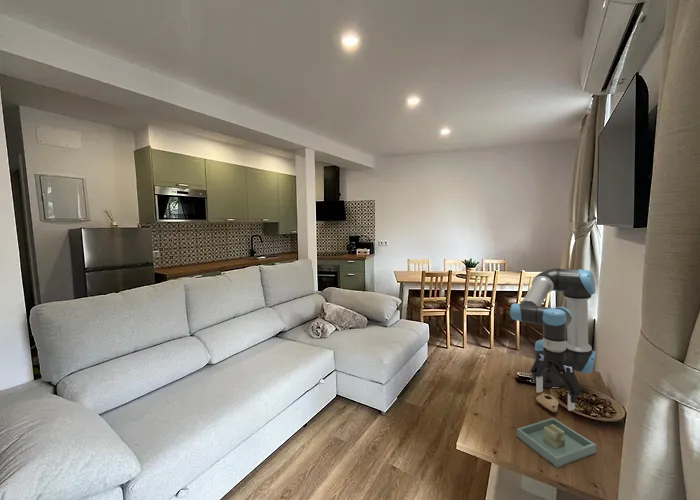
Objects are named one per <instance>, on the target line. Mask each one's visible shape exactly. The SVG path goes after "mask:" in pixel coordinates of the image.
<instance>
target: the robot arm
mask: <svg viewBox="0 0 700 500" xmlns="http://www.w3.org/2000/svg"><path fill="white" fill-rule="evenodd" d="M552 291H553V292H555V291H556V292H562V297H564V298H565V299H566V307H564V306H556V307H547V306H542V304H543V303H544V301H545V299H546V297H547V295H548V294H549V293H551V292H552ZM595 294H596V282H595V276H594V274H593V272H592V271H591V270H588V269H581V268H576V269H575V268H558V267H557V268H555V267H554V268H549V269H546V270H543V271H541V272H540V273H538V274H537V275H535V277H534V278H533V279H532V281H531V286H530V288H529V289H528V291H527V293H526V295H525V296H524V297H523V299H522V301H521V302H520V303H512V304H511V306H510V309H509V315H510V318H511V319H512V320H514V321H519V322H523V323H529V324H536V325H542V338H541V339H539V340H537V341H535V344H534V363H533V365H532V367H531V369H530V373H531V380H532V379H533V380H534V381H535V383H534V384H536V385H535V389H536V391H535V392H536V393H537V394H538V393H543V391H544V388H548V389H553V388H552V387H561V386H563V385H564V386H565V387H566V389H567V390H568V392H567V411H569V412H571V411H574V410H576V404H577V401H578V397H579V396H581V395H583V391H582V388H581V386H580V383H579V381H578V378H577V376H576V374H575V372H579V373H584V374H591V373H592V372H593V369H594V364H595V360H596V354H597V352H596V351H595V350H593V348H592V345H591V344H589V319H588V318H589V315H588V313H589V312H588V311H589V310H588V308H589V307H588V305H589V303H588V301H589V299H590V300H591V298H592V295H595ZM566 331H567V332H566ZM564 386H563V387H564ZM561 388H562V387H561Z"/></svg>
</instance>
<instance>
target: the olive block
mask: <svg viewBox="0 0 700 500" xmlns="http://www.w3.org/2000/svg"><path fill="white" fill-rule="evenodd" d="M544 442H546V443H547V444H548V445H550V446H551V447H553V448H554V449H557V448H560V447H563V446H565V432H564V431H563V430H561V429H560V428H558V427H557V426H555V425H554V424H552V425H549V426H545V427H544Z"/></svg>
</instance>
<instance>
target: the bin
mask: <svg viewBox="0 0 700 500" xmlns="http://www.w3.org/2000/svg"><path fill="white" fill-rule="evenodd" d="M552 424H554V425H555V426H557V427H558V428H560V429H561V430H563V431H564V432H565V446H563V447H560V448H557V449H554V448H553V447H551V446H550V445H548V444H547V443H546V442H544V427H545V426H549V425H552ZM516 438H518V439H519V440H520V441H521V442H523V443H524V444H526V445H527V446H528V447H529V448H531V449H532V450H533V451H535V452H536V453H537V454H538V455H540V456H541V457H543V458H544V459H545V460H546V461H547V462H548V463H550V464H551V465H552V466H554V467H555V468H556V469H558V468H560V467H562V466H566V465H568V464H570V463H573V462H576V461H579V460H581V459H584V458H587V457H589V456H592V455H595V454H597V444H596V443H595V442H593V441H591V440H590V439H588V438H586V437H585V436H583V435H581V434H580V433H578V432H577V431H575V430H574V429H572V428H570V427H568V426H567V425H565V424H564V423H562V422H561V421H560V420H557V419H556V418H555V417H550V418H547V419H544V420H540V421H538V422H535V423H531V424H528V425H525V426H521V427H518V428H516Z"/></svg>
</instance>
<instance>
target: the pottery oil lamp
mask: <svg viewBox="0 0 700 500" xmlns="http://www.w3.org/2000/svg"><path fill="white" fill-rule="evenodd" d="M535 399H536V401H537V403H539V404H541V406H542V407H543V408H545V409H547V410H549V411H550V412H552V413H557V412H558V409H559V408H558V406H559V401H558V399H556V398H555V397H554V395H552V394H547V393H545V392H541V394H539V395H537V396H536V398H535Z"/></svg>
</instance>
